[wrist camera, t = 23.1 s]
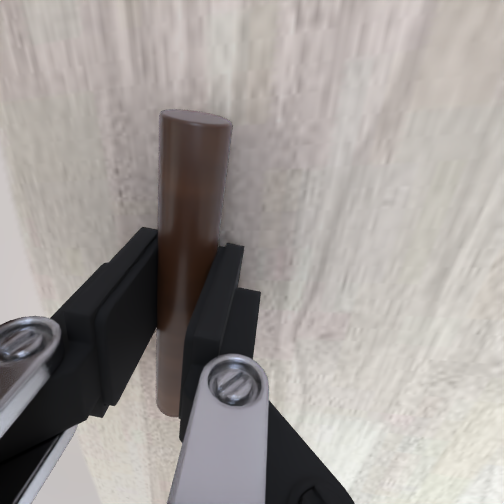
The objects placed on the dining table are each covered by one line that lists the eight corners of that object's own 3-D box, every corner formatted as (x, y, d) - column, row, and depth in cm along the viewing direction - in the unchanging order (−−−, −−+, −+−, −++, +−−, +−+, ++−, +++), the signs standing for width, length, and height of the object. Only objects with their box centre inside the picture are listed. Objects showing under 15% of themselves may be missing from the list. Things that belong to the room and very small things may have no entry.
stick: (180, 106, 8) (144, 111, 6) (241, 119, 8) (218, 127, 6) (168, 374, 13) (147, 409, 11) (205, 387, 13) (188, 424, 11)
